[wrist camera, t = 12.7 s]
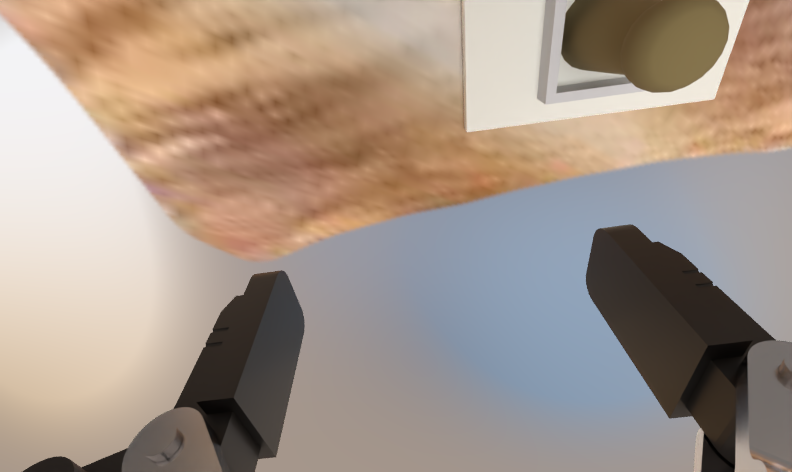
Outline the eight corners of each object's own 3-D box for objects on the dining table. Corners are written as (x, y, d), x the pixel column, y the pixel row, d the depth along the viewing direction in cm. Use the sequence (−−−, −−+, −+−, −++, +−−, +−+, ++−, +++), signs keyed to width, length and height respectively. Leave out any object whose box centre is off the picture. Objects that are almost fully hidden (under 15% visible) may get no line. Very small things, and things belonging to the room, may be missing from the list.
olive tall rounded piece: (653, 7, 29) (779, 18, 19) (599, 82, 32) (686, 122, 23) (593, -33, 27) (699, -41, 18) (542, 50, 30) (611, 79, 21)
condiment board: (460, -61, 27) (468, -65, 24) (774, -110, 26) (818, -121, 23) (464, 128, 35) (471, 140, 32) (704, 95, 34) (731, 105, 31)
